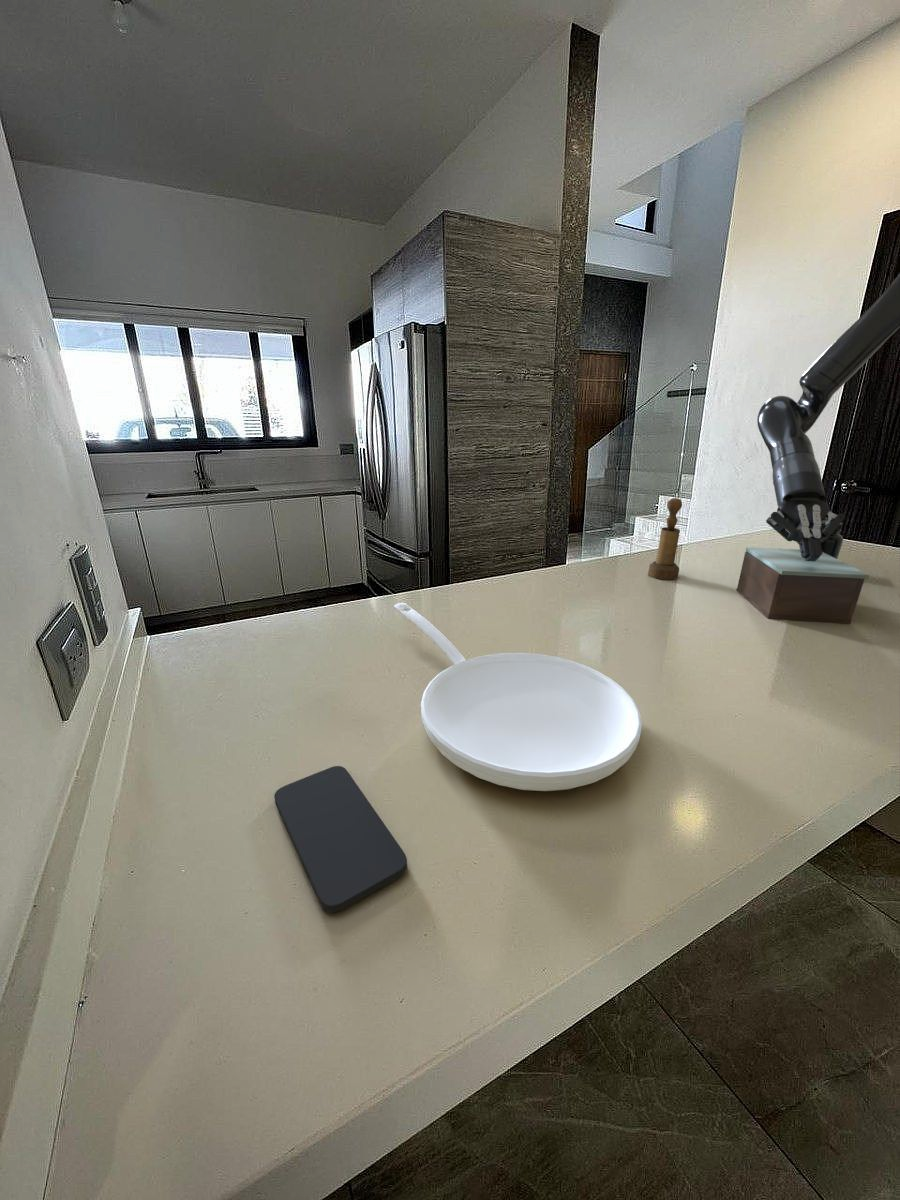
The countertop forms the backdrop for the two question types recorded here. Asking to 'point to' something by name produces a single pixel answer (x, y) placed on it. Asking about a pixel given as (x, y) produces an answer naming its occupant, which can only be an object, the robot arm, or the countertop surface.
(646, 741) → the countertop surface
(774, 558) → the glass lid
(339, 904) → the phone
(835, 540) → the supplement bottle
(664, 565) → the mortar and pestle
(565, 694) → the pan
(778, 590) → the case
